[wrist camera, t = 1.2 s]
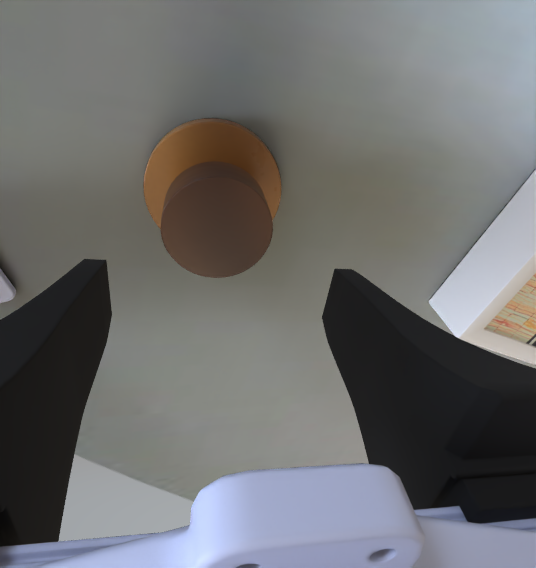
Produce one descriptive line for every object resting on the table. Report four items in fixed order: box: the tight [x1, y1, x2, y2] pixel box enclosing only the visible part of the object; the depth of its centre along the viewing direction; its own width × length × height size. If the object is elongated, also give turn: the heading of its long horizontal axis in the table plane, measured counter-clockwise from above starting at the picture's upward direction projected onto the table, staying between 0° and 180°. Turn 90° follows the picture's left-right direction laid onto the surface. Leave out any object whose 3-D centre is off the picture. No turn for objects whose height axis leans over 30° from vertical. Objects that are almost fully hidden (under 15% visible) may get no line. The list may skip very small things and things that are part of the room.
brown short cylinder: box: [161, 161, 273, 278], centre depth 17 cm, size 5×5×2 cm
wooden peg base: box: [144, 118, 281, 229], centre depth 19 cm, size 7×7×3 cm
